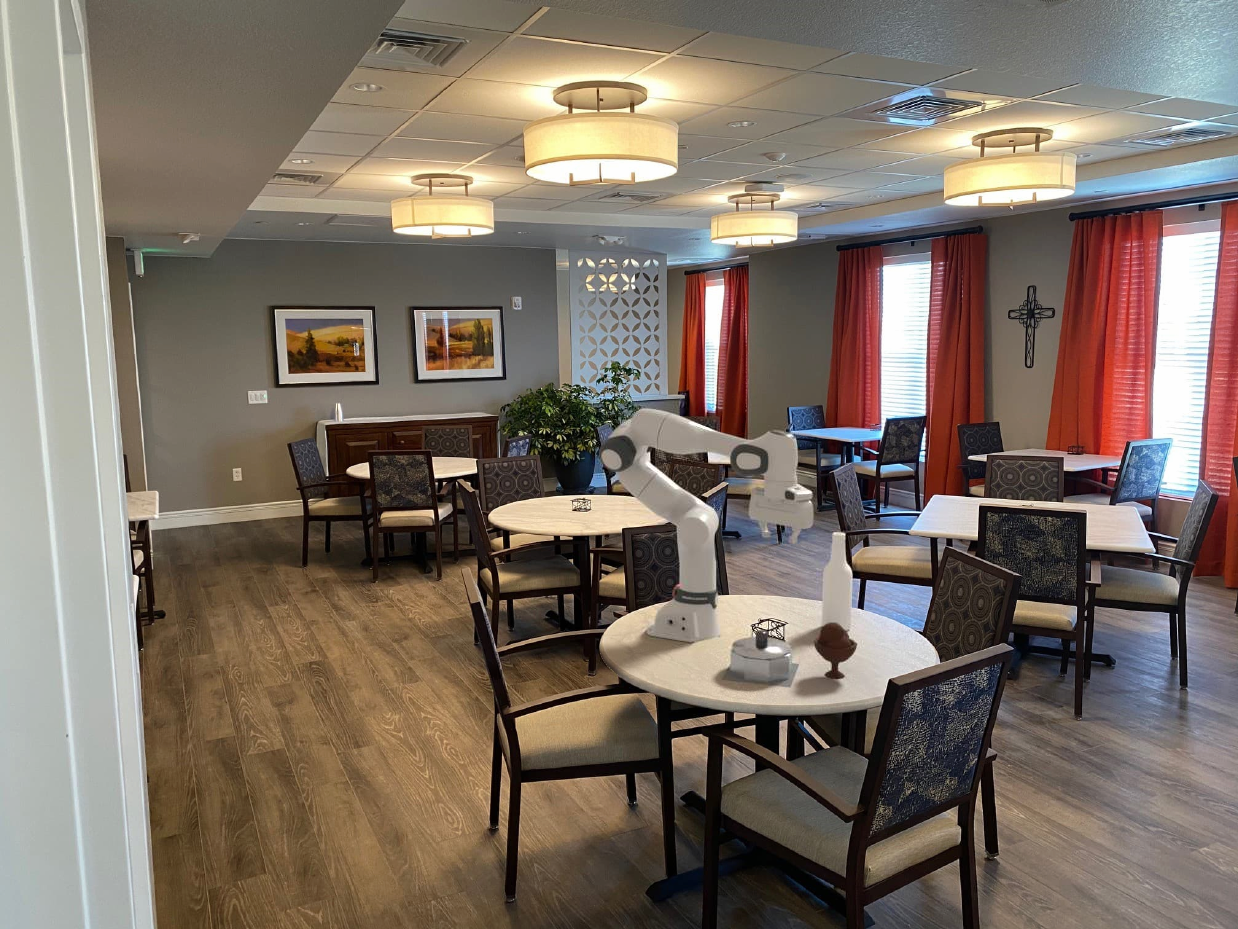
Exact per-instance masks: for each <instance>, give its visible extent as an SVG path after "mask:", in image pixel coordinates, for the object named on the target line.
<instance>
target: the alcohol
mask: <svg viewBox="0 0 1238 929" xmlns="http://www.w3.org/2000/svg"><path fill="white" fill-rule="evenodd" d="M831 539H832V541H831V542H832V543H831V550H830V559H829V561H828V563H827V564H826V566H825V567H824V569H823V572H822V598H821V599H822V600H821V601H822V604H821V605H822V606H821V625H822V626H821V627H823V626H824V625H825V624H827V623H830V622H832V623H838V624H839V625H841V627H842V628H843V629H844V630H845V631H847V632H848V631H849V630H850V629H851V627H852V600H853V599H852V598H853V594H852V593H853V571H852V568H851V566H850V564H848V561H847V555H846V552H847V551H846V533H845V532H841V531H837V532H833V533H832V537H831Z"/></svg>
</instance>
